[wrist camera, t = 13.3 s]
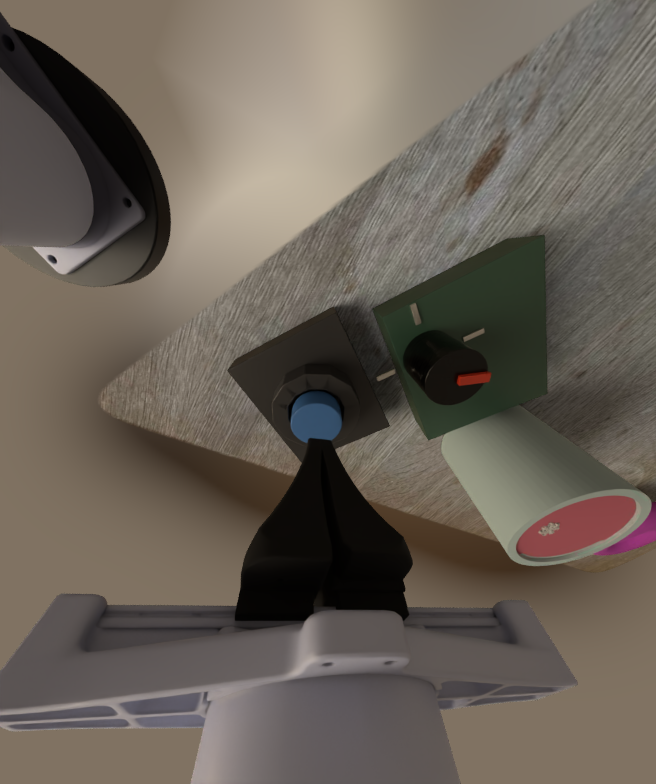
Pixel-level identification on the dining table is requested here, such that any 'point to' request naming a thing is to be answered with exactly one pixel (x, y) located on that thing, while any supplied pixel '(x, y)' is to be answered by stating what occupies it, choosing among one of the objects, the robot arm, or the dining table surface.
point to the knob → (445, 367)
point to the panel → (477, 329)
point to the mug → (541, 489)
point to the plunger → (316, 416)
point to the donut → (635, 536)
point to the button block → (310, 379)
